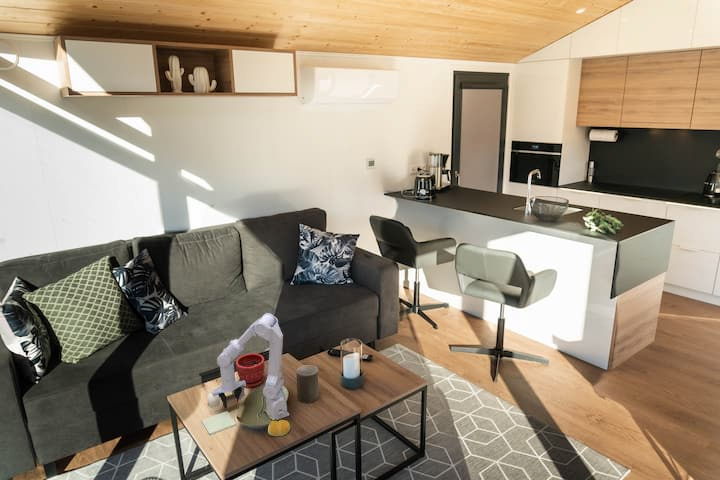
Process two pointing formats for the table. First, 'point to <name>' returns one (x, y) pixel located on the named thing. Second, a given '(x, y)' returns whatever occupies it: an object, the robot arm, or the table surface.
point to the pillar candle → (307, 384)
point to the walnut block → (231, 403)
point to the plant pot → (251, 369)
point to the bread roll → (278, 428)
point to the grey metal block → (241, 393)
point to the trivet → (218, 422)
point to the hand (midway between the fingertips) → (230, 405)
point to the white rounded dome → (213, 400)
